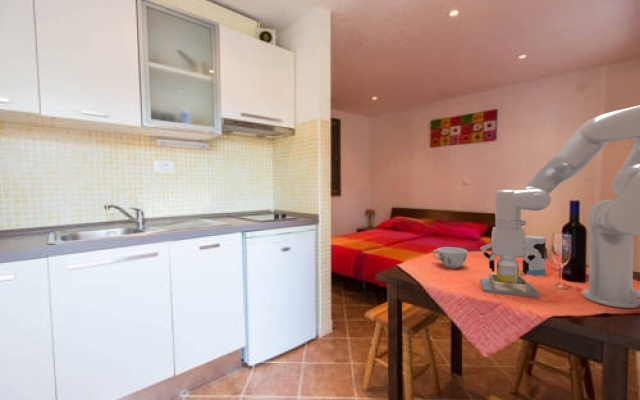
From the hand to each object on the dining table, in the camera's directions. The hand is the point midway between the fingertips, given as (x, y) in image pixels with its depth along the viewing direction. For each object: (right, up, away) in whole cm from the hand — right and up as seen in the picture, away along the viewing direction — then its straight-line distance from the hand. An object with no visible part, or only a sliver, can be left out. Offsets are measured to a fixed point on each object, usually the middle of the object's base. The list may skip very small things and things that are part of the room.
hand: (508, 271), depth 101 cm
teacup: (-8, -5, +29) cm, 31 cm away
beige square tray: (0, -6, +1) cm, 6 cm away
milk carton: (+21, -5, +16) cm, 27 cm away
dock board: (0, -6, +1) cm, 6 cm away
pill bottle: (0, -5, 0) cm, 5 cm away
